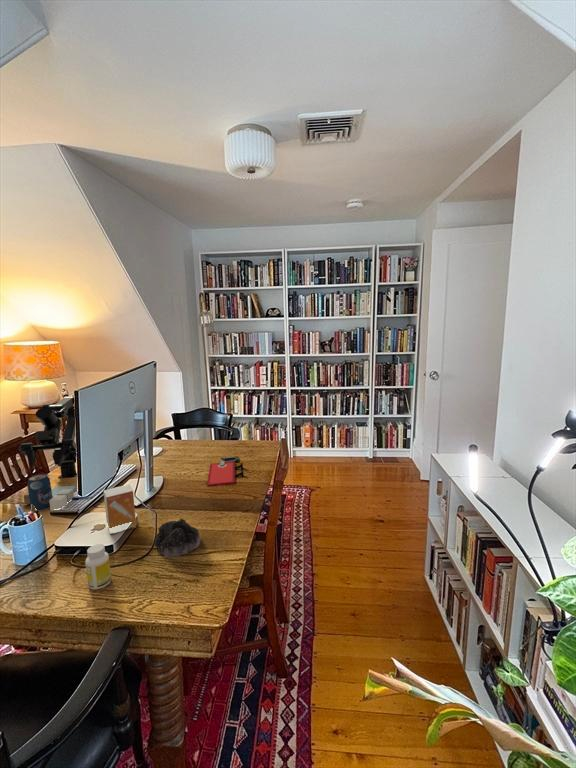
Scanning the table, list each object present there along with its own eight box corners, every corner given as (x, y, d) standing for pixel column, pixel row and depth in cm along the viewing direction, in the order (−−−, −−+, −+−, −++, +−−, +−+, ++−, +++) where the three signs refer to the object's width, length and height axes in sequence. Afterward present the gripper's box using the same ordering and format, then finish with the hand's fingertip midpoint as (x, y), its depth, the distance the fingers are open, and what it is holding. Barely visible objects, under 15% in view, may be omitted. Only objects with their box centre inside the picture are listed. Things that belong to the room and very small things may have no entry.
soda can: (44, 512, 133) (40, 480, 132) (26, 512, 134) (21, 480, 132) (57, 502, 140) (53, 473, 138) (40, 502, 141) (35, 473, 139)
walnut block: (31, 500, 143) (29, 490, 143) (42, 499, 144) (40, 489, 143) (24, 505, 140) (23, 495, 139) (36, 504, 140) (34, 494, 139)
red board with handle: (242, 457, 183) (211, 460, 181) (241, 452, 182) (211, 455, 180) (244, 484, 153) (207, 488, 151) (243, 478, 153) (206, 481, 151)
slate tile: (55, 489, 152) (54, 487, 152) (77, 488, 153) (77, 485, 153) (42, 499, 143) (42, 497, 143) (66, 498, 144) (66, 495, 144)
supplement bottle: (115, 575, 99) (111, 541, 97) (106, 589, 93) (101, 554, 92) (94, 576, 98) (90, 542, 97) (84, 591, 93) (79, 555, 91)
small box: (110, 535, 117) (105, 497, 115) (107, 527, 122) (102, 490, 120) (137, 527, 122) (133, 490, 119) (133, 519, 127) (129, 483, 125)
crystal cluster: (169, 533, 119) (163, 506, 117) (209, 533, 117) (203, 504, 114) (148, 562, 106) (141, 532, 104) (192, 563, 104) (185, 532, 102)
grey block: (63, 499, 143) (62, 489, 143) (74, 498, 144) (72, 488, 143) (58, 504, 139) (56, 494, 139) (69, 503, 140) (67, 493, 139)
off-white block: (56, 505, 138) (55, 495, 138) (67, 504, 139) (66, 494, 138) (50, 510, 135) (49, 500, 134) (62, 510, 135) (60, 499, 134)
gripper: (17, 423, 142) (7, 461, 133) (71, 419, 146) (65, 455, 138) (29, 437, 151) (20, 473, 142) (79, 433, 155) (74, 467, 146)
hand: (45, 467), depth 142 cm, fingers open, 9 cm apart
